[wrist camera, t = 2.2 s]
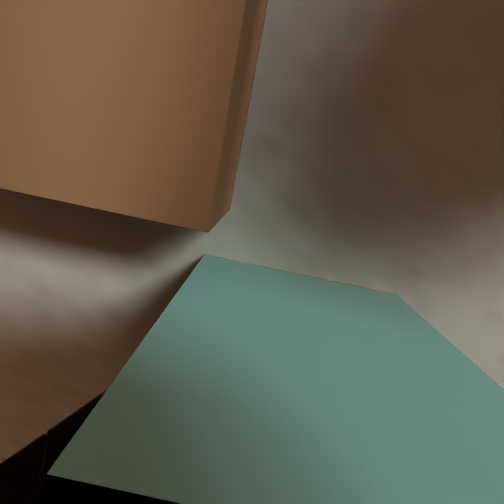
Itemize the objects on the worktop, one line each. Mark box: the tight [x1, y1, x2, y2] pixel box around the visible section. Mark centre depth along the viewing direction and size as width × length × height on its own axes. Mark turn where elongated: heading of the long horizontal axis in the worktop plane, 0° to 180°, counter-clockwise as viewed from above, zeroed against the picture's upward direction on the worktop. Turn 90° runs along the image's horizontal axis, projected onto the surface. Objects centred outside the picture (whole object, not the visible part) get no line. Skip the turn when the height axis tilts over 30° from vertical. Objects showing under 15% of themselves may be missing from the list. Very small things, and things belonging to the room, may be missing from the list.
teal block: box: [40, 255, 504, 504], centre depth 6 cm, size 6×6×6 cm
